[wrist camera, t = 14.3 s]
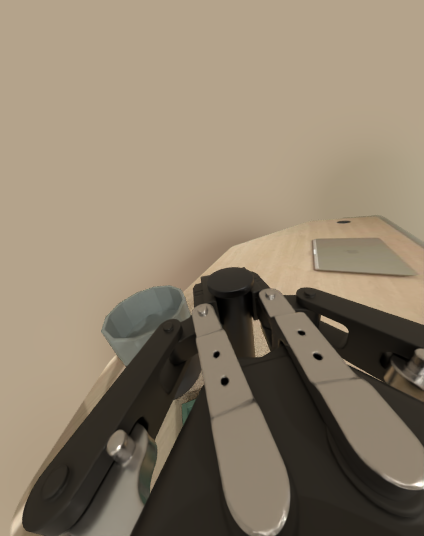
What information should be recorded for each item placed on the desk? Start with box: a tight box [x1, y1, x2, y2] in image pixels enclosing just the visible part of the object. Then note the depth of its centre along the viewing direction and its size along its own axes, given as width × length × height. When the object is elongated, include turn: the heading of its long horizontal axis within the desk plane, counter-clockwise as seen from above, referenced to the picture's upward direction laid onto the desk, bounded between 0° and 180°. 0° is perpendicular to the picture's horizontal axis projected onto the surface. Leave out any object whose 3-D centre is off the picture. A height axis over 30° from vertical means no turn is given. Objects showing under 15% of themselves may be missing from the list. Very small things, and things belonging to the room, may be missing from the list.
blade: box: [207, 267, 255, 358], centre depth 12 cm, size 9×9×14 cm
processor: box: [101, 286, 201, 400], centre depth 30 cm, size 13×13×16 cm
